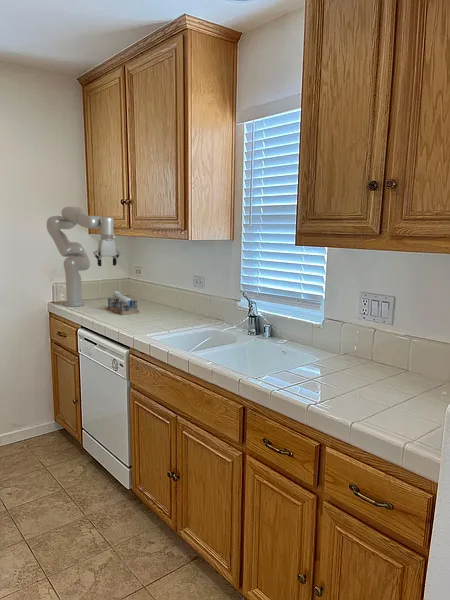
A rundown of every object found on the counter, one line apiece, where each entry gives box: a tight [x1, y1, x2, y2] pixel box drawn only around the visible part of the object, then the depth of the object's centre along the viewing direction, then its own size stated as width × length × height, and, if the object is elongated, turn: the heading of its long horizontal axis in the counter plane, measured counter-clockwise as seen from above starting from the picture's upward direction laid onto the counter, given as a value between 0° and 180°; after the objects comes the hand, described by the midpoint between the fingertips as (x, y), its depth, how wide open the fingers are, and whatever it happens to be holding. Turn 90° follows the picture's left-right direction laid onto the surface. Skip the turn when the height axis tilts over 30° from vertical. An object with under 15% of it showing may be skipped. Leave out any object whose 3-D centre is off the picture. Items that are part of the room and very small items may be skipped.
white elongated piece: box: [111, 290, 133, 307], centre depth 278 cm, size 5×7×25 cm
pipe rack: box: [106, 297, 140, 316], centre depth 279 cm, size 21×11×8 cm, turn 40°
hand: (107, 265), depth 279 cm, fingers open, 9 cm apart
